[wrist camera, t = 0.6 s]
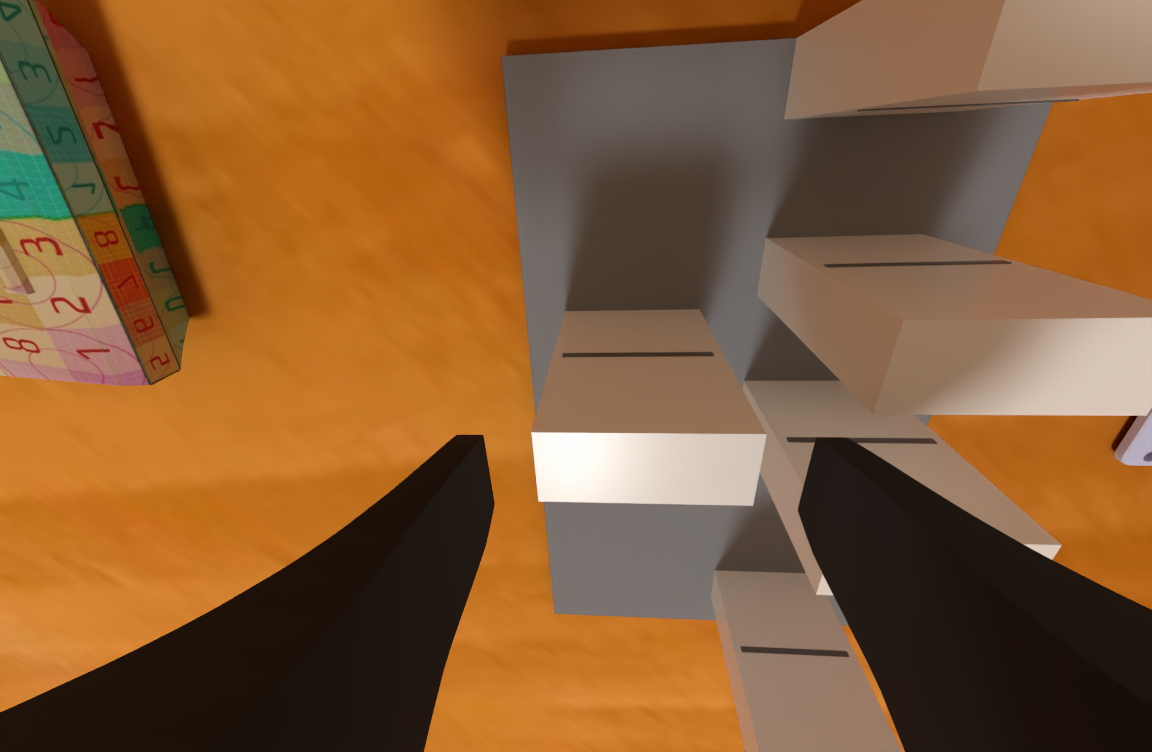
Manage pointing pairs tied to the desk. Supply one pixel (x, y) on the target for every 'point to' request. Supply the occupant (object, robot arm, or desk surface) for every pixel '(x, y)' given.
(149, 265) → the puzzle game
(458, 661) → the desk surface
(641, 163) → the mat
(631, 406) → the domino
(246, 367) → the desk surface
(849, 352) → the domino
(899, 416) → the domino
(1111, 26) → the domino
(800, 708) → the domino
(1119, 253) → the desk surface
